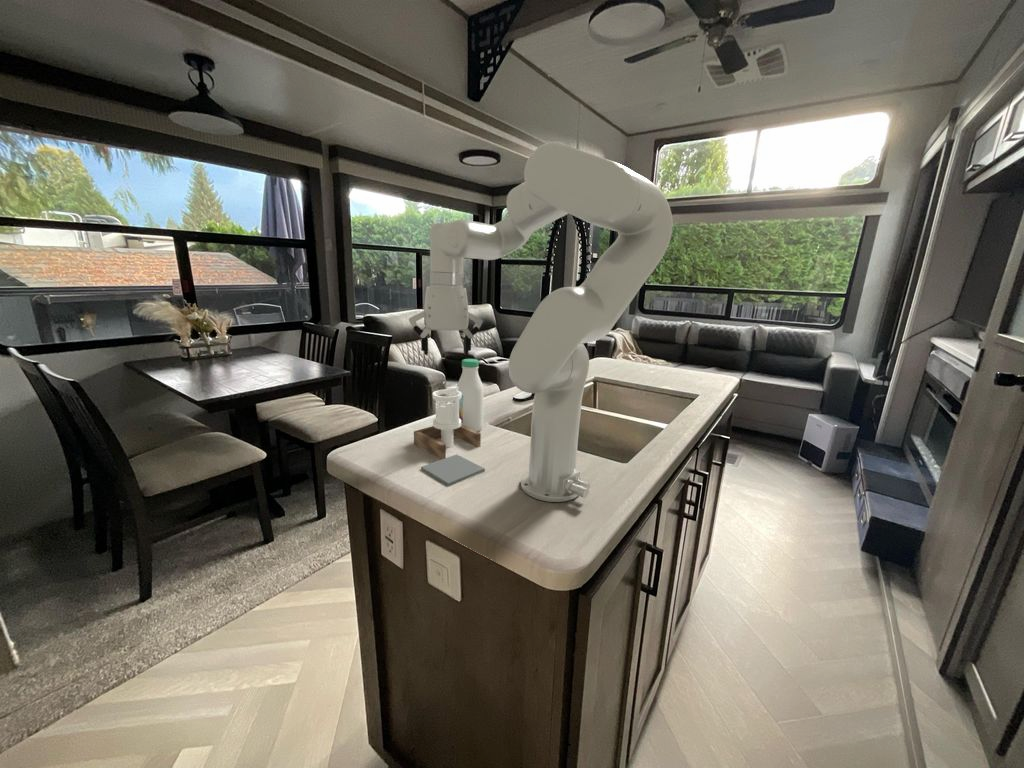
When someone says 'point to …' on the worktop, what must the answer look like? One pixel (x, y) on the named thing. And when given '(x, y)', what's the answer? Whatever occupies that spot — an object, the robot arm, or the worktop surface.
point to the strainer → (447, 413)
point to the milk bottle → (471, 396)
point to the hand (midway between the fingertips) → (446, 353)
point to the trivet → (452, 469)
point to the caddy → (429, 443)
